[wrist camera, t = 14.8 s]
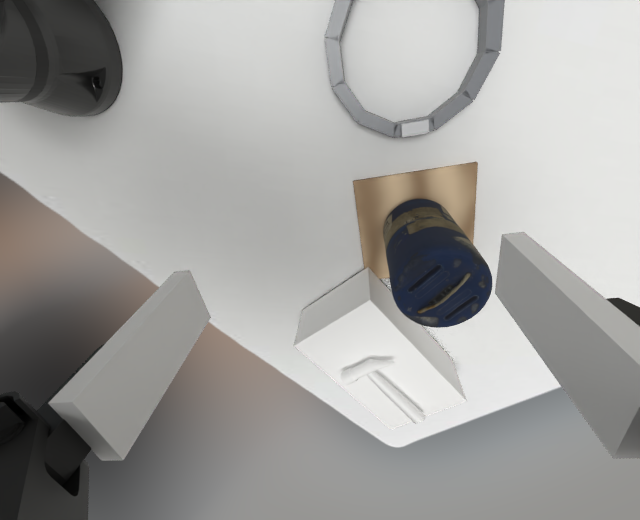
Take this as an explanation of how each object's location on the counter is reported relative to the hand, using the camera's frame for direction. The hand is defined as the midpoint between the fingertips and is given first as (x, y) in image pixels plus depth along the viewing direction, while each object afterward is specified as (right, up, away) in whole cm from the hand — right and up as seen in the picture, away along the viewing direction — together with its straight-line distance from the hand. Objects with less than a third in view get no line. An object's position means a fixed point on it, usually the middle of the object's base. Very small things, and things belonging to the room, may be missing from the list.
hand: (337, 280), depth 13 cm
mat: (+13, +6, +31) cm, 34 cm away
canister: (+13, +6, +31) cm, 34 cm away
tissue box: (+10, -13, +41) cm, 44 cm away
